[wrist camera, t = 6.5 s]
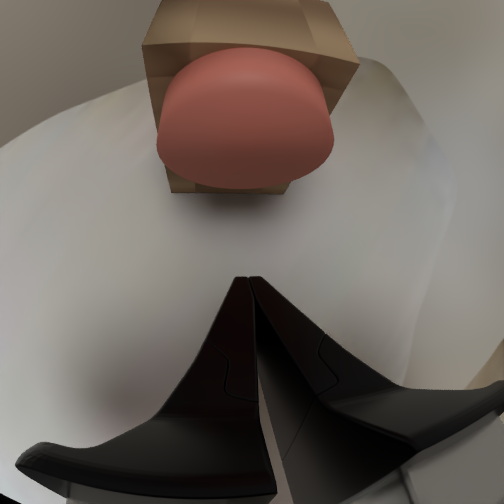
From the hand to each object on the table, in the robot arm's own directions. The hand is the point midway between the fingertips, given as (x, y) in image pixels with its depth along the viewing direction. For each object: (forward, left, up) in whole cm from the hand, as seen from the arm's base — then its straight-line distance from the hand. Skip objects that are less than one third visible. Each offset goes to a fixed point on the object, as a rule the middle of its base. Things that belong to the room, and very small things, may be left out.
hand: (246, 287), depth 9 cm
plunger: (+7, -4, -2) cm, 9 cm away
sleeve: (+8, -5, -7) cm, 12 cm away
